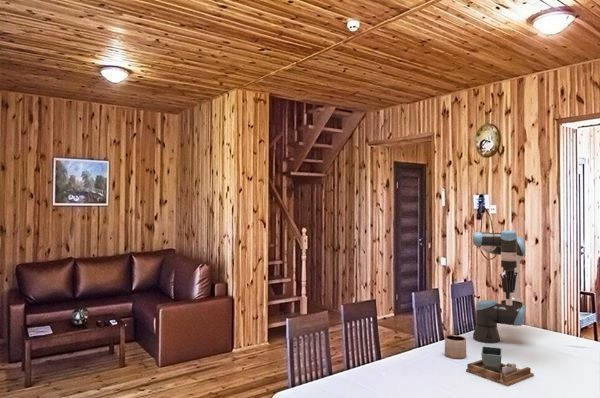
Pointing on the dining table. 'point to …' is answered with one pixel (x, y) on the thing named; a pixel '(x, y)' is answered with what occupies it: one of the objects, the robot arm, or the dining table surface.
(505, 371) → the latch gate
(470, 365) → the frame
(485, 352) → the flower pot
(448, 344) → the planter
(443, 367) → the dining table surface
